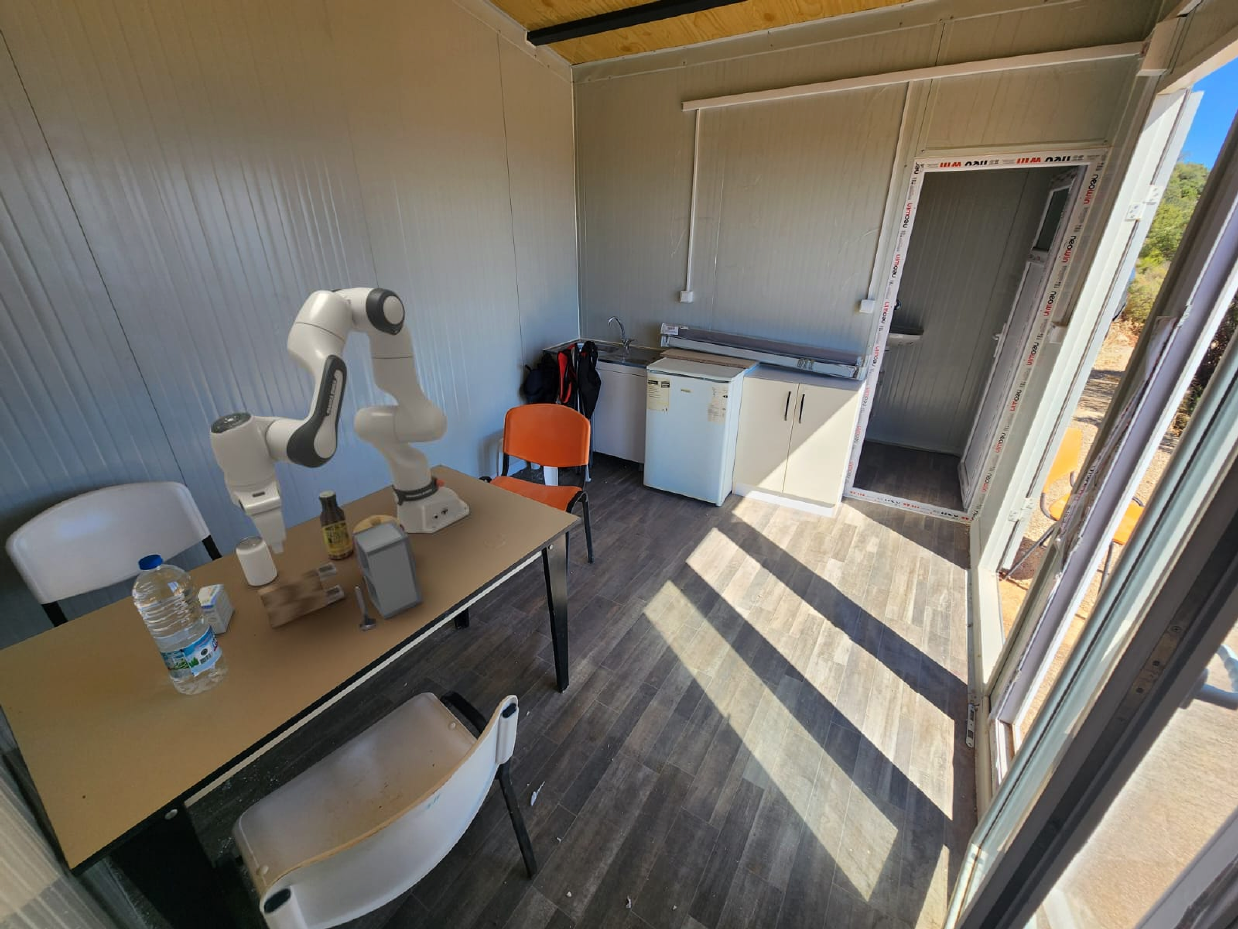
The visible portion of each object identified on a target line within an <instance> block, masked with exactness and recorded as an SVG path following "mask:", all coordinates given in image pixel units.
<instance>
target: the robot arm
mask: <svg viewBox="0 0 1238 929" xmlns="http://www.w3.org/2000/svg"><path fill="white" fill-rule="evenodd" d="M405 313H406V312H405V305H404V303H403V301H402V300H401V298H400V296H399V295H398V294H397V293H396V292H394V291H393V290H391V289H387V288H384V287H376V288H373V287H360V286H359V287H354V288H345V289H342V288H337V289H334V290H331V291H330V290H326V289H323V290H316V291H314V292H312V293H311V294H310V295H309V296H308V298H307V299H306V300H305V302H304V303H303V305H302V306H301V308H300V310H299V312H298V313H297V316H296V318H295V320H294V322H293V325H292V327H291V329H290V331H289V333H288V336H287V337H288V338H287V342H286V350H287V352H288V354H289V356H290V358H291V360H292V361H293V362H294V363H295V364H296V365H297V367H298V366H299V367H300V368H302V369H303V370H304V371H306V372H307V373H309V374H311V375H312V377H313V379H314V382H315V383H314V384H315V386H314V390H313V395H312V400H311V404H310V405H311V406H310V410H309V414H308V416H307V417H305V418H304V419H303V420H302V419H294V418H290V417H289V418H288V417H281V416H257V415H253V414H251V413H249V412H235V413H231V414H226V415H223V416H222V417H220V418H218V419H217V420H215V421H214V422H213V423H212V424H211V426H210V429H209V440H210V444H211V449H212V451H213V455H214V458H215V460H216V463H217V464H218V466H219V468H220V469H221V470H222V471H223V474H224V475H223V476H224V477H223V478H224V480H223V481H224V483H225V486H226V488H227V491H228V494H229V496H230V499H231V502H232V503H233V505H236V506H237V507H239V508H240V509H241V510H242V511H243V512H244V514H245V515H246V516H248V517H249V518H250V519H251V520H252V522H253V525H254V526H255V527H256V529H257V531H258V532H259V534H260V535H259V536H260V537H262V540H264V542H265V543H266V544H267V547H268V546H269V547H271V549H272V552H273V554H275V555H278V554H281V553H283V552H284V551H285V550H284V547H283V542H285V541H286V540H287V531H286V526H285V521H284V517H283V513H282V509H281V507H282V506H283V500H282V498H281V496H282V495H281V494H282V488H281V485H280V484H281V483H280V482H279V478H278V476H277V472H276V470H275V467H274V465H275V464H276V463H278V462H285V463H290V464H294V465H298V466H301V467H305V468H309V469H318V468H320V467H322V466H324V465H326V464H327V463H328V462H329V461H331V460H332V459H333V457H335V454H336V452H337V449H338V442H339V441H338V439H339V438H338V432H339V431H338V430H339V422H340V417H341V412H342V407H343V402H344V396H345V391H346V384H347V380H348V369H347V365H346V362H344V360H343V359H344V358H343V356H344V350H345V347H346V345H347V341H348V338H349V333H350V332H352V333H361V334H362V333H363V334H366V335H367V337H368V339H369V352H370V360H371V367H372V374H373V381H374V384H375V386H376V387H377V388H378V389H380V391H382V392H384V393H386V394H389V395H390V396H391V397H393V399H395V401H396V402H397V405H396V404H393V405H390V404H389V405H388V404H384V405H382V404H380V405H379V404H377V405H372V406H367V407H363V408H360V409H359V410H358V411H357V412H356V414H355V415H354V419H353V428H354V431H355V433H356V435H357V436H358V437H359V438H360V439H361V441H364V442H366V443H367V444H369V445H370V446H372V447H374V448H375V450H377V452H378V453H380V454H381V456H382V457H383V459H384V460H385V462H386V464H387V466H388V469H389V472H390V476H391V481H392V486H391V487H392V493H393V498H394V502H395V503H396V510H397V512H396V513H397V515H396V516H397V517H396V518H397V519H398V520H399V522H400V524H402V525H403V526H404V528H405V533H409V534H416V533H418V534H419V533H423V534H434V533H436V532H438V531H439V530H442V529H443V528H445V527H447V526H449V525H451V524H453V523H454V522H457V521H459V520H460V519H463V518H465V517H466V516H468V515H470V508H469V505H468V504H467V503H466V502H464V501H463V500H462V499H460V497H459V496H458V494H457V493H456V492H455V491H453V490H452V489H450V488H448V487H446V486H444V485H445V482H444V481H443V480H442V479H438V478H437V476H435V475H432V474H431V469H430V463H429V458H428V456H427V455H426V454H425V453H424V452H423V451H421V450H419V449H417V448H415V447H414V446H412V445H411V443H413V444H415V443H429V442H433V441H434V442H435V441H439V440H442V438H443V437H444V436H445V435H446V431H447V429H448V420H447V417H446V414H445V413H444V411H443V410H442V409H441V408H440V407H439V406H436V405H435V404H434V403H432V401H430V399H429V398H428V397H427V396H426V395H425V393H424V392H423V390H422V388H421V386H420V384H419V379H418V377H417V370H416V369H417V368H416V364H415V355H414V349H413V344H412V339H411V335H410V332H409V329H408V326H407V323H406V322H405V319H406V318H405V316H406V314H405Z"/></svg>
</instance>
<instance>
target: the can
mask: <svg viewBox="0 0 1238 929" xmlns="http://www.w3.org/2000/svg"><path fill="white" fill-rule="evenodd" d="M235 545H236V546H235V547H236V550H235V552H236V555H237V558H238V560H239V563H240V565H241V567H242V568H241V569H242V570H243V573H244V575H245V577H246V580H247V582H248V584H249V585H250V586H253V587H260V586H261V587H262V586H265V585H267V584H270V583H271V582H273V581H274V580H275V579H276V577H277V576H278V572H277V569H276V566H275V564H274V563H275V562H274V560H273V558H272V555H271V553H270V549H269V547H268V545H267V544H266V543H265V542H264V540H263V538H262V537H261V535H253V536H248V537H245V538H243V539H241V540H240V541H238V542H237V543H236V544H235Z"/></svg>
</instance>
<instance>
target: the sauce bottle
mask: <svg viewBox="0 0 1238 929" xmlns="http://www.w3.org/2000/svg"><path fill="white" fill-rule="evenodd" d="M318 500H319V501H320V504H321V509H322V510H321V513H320V516H319V519H320V520H319V521H320V525H321V526H320V527H321V531H322V534H323V538H324V542H325V546H326V550H327V554H328V556H329V558H330V559H332V560H342V559H344V558H347V557H349V556H350V555H351V554H352V552H353V544H352V538H351V536H350V531H349V527H348V522H347V519H346V515H345V511H344V510H343V509H342V508H341V507H340V506H339V504H338V501H337V493H336V492H335V491H333V490H326V491H321V492H320V493H319V494H318Z"/></svg>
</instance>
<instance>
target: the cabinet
mask: <svg viewBox="0 0 1238 929" xmlns="http://www.w3.org/2000/svg"><path fill="white" fill-rule="evenodd" d="M352 537H353V538H354V541H355V545H356V549H357V552H358V556H359V560H360V563H361V567H362V571H363V574H364V578H365V580H364V581H365V584H366V590H367V591H368V592H367V593H368V595H369V598H370V601H371V602H372V604H373V606H374V607H375V608H376V610H377V611H378V612H379V614H380V616H381V617H382V619H383V620H385V621H386V620H388V619H389V618H391V617H394V616H396V615H398V614H400V613H402V612H404V611H407V610H409V609H411V608H413V607H415V606H417V605H419V604H421V603H423V596H422V591H421V587H420V582H419V578H418V573H417V569H416V568H417V567H416V563H415V558H414V553H413V549H412V544H411V539H410V536H409V535H408V534H407V532H404V531H403V530H402V528H401V527H400V526H399V525H398V524H397V523H396V522H395V521H394V520H393V519H392V520H390V521H387V522H384V523H381V524H378V525H376V526H373V527H370V528H367V529H364V530H361V531H359V532H356V533H353V532H352Z"/></svg>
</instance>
